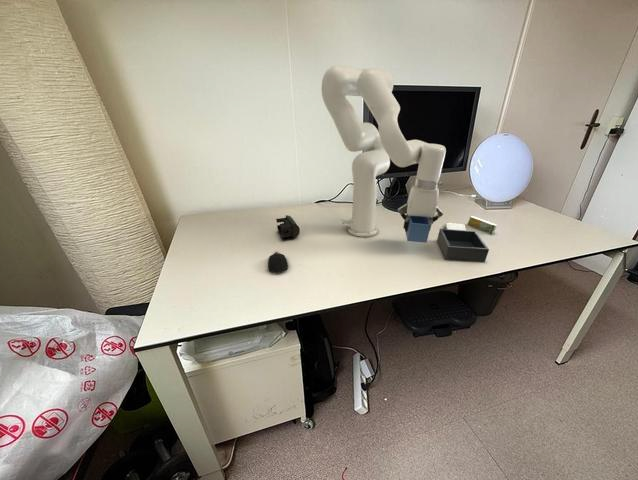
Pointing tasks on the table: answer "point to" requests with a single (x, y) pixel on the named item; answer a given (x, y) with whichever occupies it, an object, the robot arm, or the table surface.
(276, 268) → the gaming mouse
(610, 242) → the table surface
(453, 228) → the hard drive
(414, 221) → the blue bin
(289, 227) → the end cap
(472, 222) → the medication box
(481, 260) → the box
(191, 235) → the table surface
